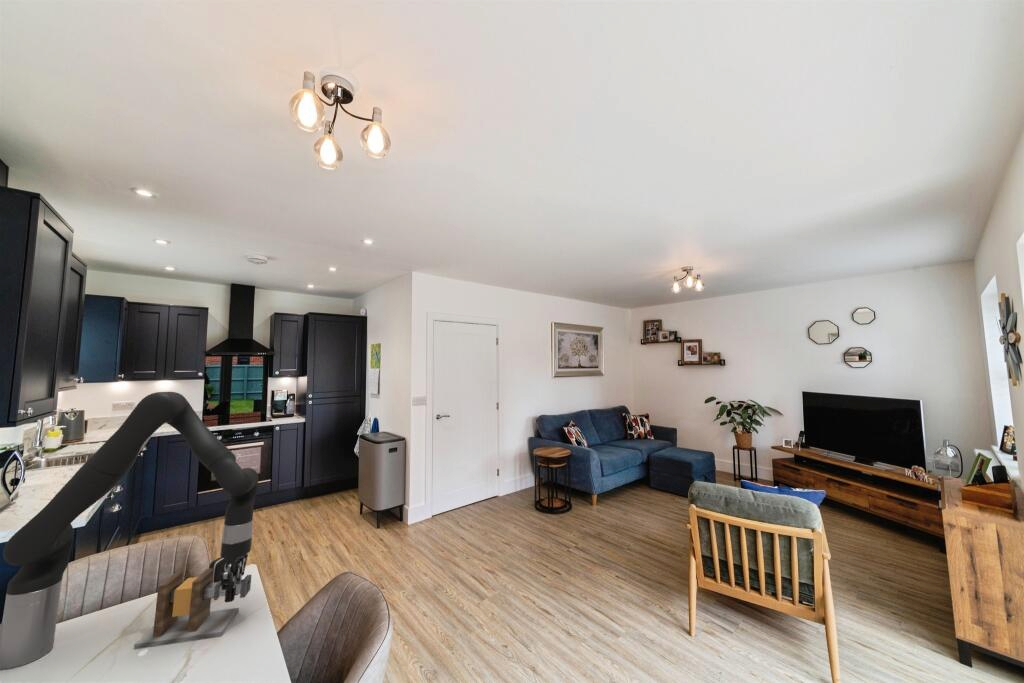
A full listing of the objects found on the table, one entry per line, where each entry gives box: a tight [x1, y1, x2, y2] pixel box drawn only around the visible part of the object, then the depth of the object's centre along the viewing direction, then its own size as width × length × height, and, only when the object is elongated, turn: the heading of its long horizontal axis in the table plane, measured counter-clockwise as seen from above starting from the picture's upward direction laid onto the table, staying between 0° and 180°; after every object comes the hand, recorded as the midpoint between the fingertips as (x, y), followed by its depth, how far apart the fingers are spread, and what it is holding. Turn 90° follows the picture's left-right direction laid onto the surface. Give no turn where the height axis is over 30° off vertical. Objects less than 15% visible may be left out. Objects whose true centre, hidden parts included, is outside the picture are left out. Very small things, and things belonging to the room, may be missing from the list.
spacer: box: [172, 576, 199, 617], centre depth 110 cm, size 4×7×7 cm, turn 16°
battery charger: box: [208, 556, 227, 599], centre depth 129 cm, size 7×4×11 cm, turn 171°
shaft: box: [169, 574, 252, 603], centre depth 112 cm, size 21×4×4 cm, turn 106°
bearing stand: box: [133, 568, 240, 650], centre depth 110 cm, size 20×12×14 cm, turn 106°
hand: (231, 597), depth 113 cm, fingers closed on shaft, 3 cm apart
